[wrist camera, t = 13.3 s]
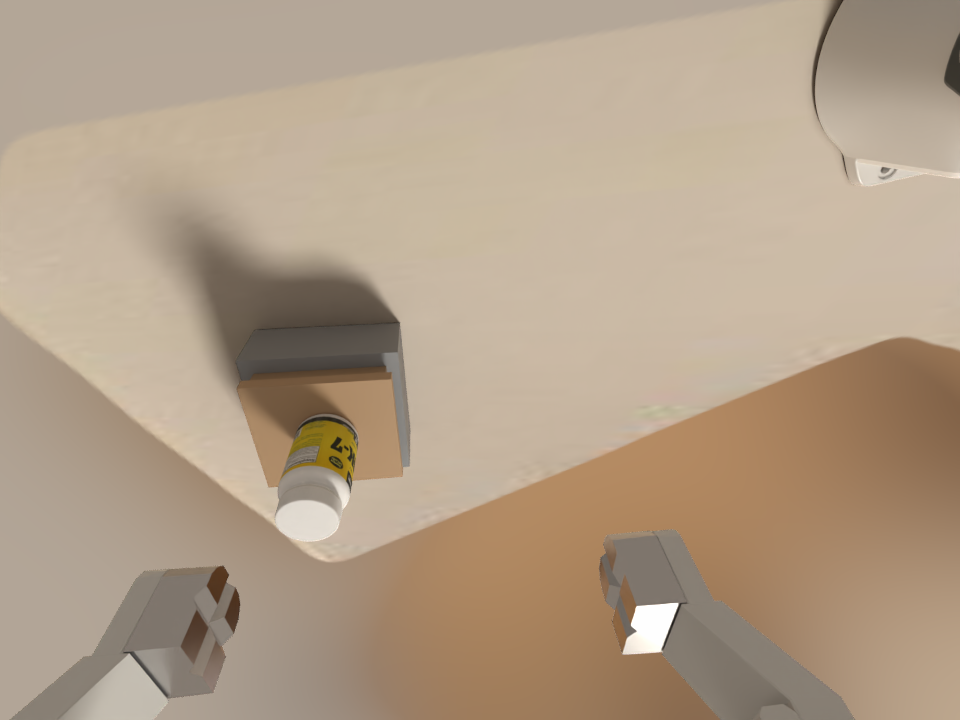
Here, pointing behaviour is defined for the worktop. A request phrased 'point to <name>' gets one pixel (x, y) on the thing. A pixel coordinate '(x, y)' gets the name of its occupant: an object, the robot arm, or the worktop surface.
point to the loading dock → (333, 356)
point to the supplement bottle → (317, 478)
